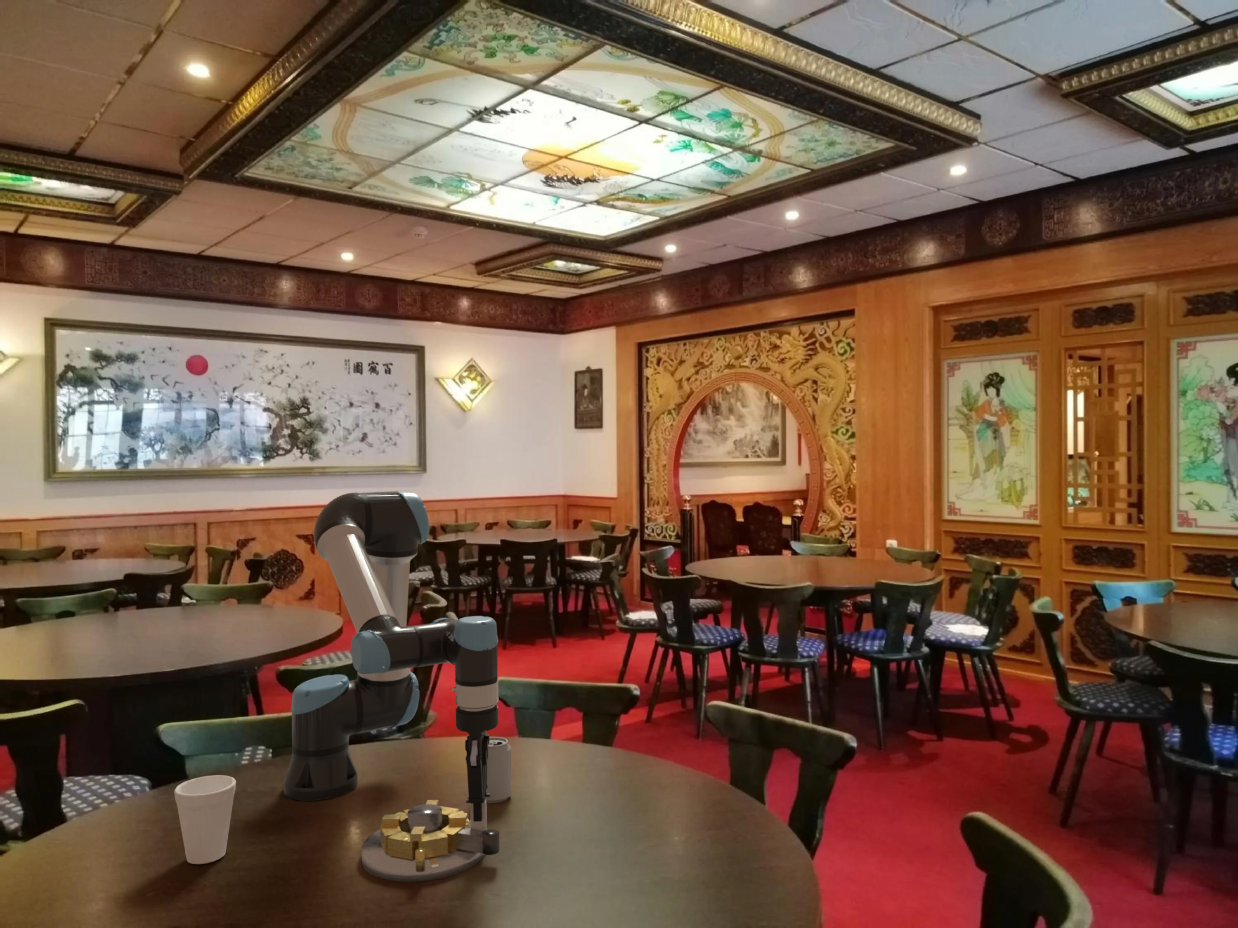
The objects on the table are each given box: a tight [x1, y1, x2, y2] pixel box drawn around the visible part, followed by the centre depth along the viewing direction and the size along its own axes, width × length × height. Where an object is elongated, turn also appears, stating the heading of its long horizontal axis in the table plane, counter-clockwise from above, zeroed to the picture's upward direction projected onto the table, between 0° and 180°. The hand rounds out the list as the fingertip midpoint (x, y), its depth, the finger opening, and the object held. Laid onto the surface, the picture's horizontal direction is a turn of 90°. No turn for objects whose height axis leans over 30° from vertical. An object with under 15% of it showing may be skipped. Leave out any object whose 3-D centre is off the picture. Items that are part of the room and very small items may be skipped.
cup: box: [173, 774, 237, 865], centre depth 153 cm, size 10×10×13 cm
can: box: [485, 736, 513, 804], centre depth 180 cm, size 8×8×12 cm
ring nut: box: [379, 799, 500, 860], centre depth 153 cm, size 22×15×4 cm, turn 69°
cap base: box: [361, 803, 486, 883], centre depth 155 cm, size 22×22×8 cm
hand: (478, 836), depth 153 cm, fingers closed
